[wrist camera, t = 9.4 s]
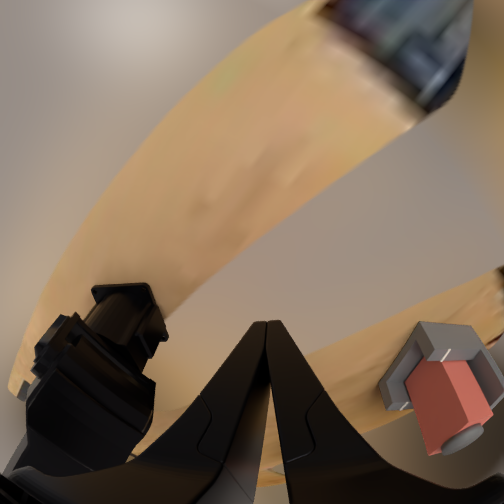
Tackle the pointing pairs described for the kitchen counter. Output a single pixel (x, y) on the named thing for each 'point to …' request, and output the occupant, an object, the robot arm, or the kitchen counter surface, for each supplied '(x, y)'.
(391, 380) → the housing
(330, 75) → the kitchen counter surface
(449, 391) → the pink block with dome
